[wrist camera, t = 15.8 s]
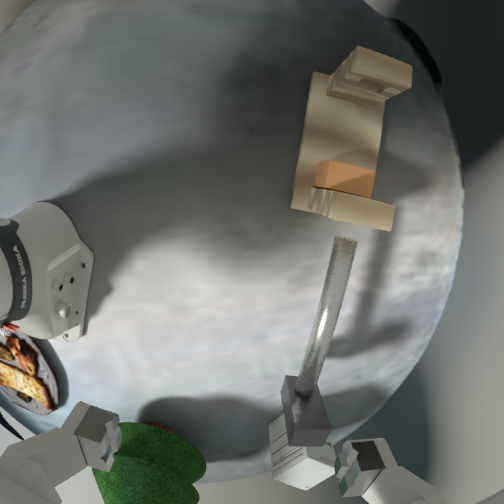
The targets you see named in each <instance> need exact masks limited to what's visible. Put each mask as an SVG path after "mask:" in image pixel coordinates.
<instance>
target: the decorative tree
mask: <svg viewBox="0 0 504 504" xmlns="http://www.w3.org/2000/svg"><path fill="white" fill-rule="evenodd" d="M118 426H119V427H120V428H121V433H122V434H121V443H120V447H119V449H118V451H117V452H115V453H113V457H114V461H113V464H112V466H111V469H110V471H109V472H105V471H102V470H99V469H96V468H93V467H92V471H93V474H94V477H95V480H96V482H97V485H98V488H99V490H100V492H101V495H102V498H103V500H104V503H105V504H197V503H198V501H199V494H198V492H197V490H196V489H195V487H194V486H193V485H192V484H193V483H194V482H196V481H198V480H199V479H200V478H202V477H203V475H204V474H205V472H206V462H205V459H204V458H203V456H202V454H201V453H200V452H199V451H198V450H197V449H196V448H195V447H194V446H193V445H192V444H190V443H189V442H187V441H186V440H184V439H183V438H181V437H179V436H177V435H176V433H175V432H174V431H173V430H172V429H171V428H169V427H168V426H166V425H163V424H160V423H156V422H148V423H145V424H141V423H133V422H123V423H118Z"/></svg>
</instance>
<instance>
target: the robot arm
mask: <svg viewBox="0 0 504 504" xmlns="http://www.w3.org/2000/svg"><path fill="white" fill-rule="evenodd" d="M93 262H94V256H93V253H92V252H91V250H90V249H89V248H88V247H87V246H86V245H85V244H84V243H83V242H82V241H81V240H80V238H79V236H78V234H77V232H76V230H75V227H74V225H73V224H72V222H71V220H70V219H69V217H68V216H67V215H66V214H65V213H64V212H63V211H62V210H61V209H60V208H59V207H57V206H55V205H53V204H51V203H48V202H37V203H34V204H32V205H30V206H28V207H27V208H26V209H25V210H23V211H22V212H20V213H18V214H16V215H15V216H12V217H10V218H8V219H7V218H1V219H0V328H1V329H2V328H6V329H8V330H11V331H15V332H16V330H15V329H17V330H19V331H20V332H22V333H24V334H27V335H29V336H32V337H35V338H39V339H56V340H61V341H73V340H76V339H79V338H80V337H81V336H82V334H83V327H84V319H85V311H86V304H87V297H88V290H89V284H90V279H91V273H92V268H93ZM83 263H84V264H85V266H86V267H84V266H83ZM67 334H68V335H67ZM119 421H120V420H119V415H118V414H116V413H113V412H110V411H107V410H104V409H101V408H98V407H95V406H92V405H89V404H86V403H84V402H81V401H80V402H78V403H77V404H76V405H75V407H74V408H73V410H72V411H71V413H70V414H69V416H68V418H67V419H66V421H65V422H64V424H63V425H62V427H61V428H60V429H59V428H54V429H52V430H49V431H47V432H44V433H42V434H39V435H36V436H34V437H31V438H28V439H26V440H23V441H21V442H18V443H15V444H12V445H9V446H8V447H7V449H6V450H5V452H4V453H3V454H2V456H1V457H0V504H61V502H62V500H61V498H60V496H59V494H58V493H57V491H56V490H55V488H54V487H56V486H57V485H59V484H61V483H62V482H64V481H65V480H67V479H69V478H70V477H72V476H74V475H75V474H77V473H78V472H80V471H81V470H83V469H85V468H86V467H87V466H90V467H93V468H96V469H99V470H102V471H105V472H109V471H110V469H111V466H112V464H113V461H114V457H113V453H115V452H117V451H118V449H119V447H120V443H121V434H122V433H121V428H120V427H119V426H118V423H119ZM342 448H343V452H341V453H339V454H338V456H337V458H336V460H335V465H334V468H335V474H336V476H337V477H338V478H339V479H341V481H340V482H339V484H338V485H339V488H340V492H341V496H342V497H351V496H360V495H362V497H363V498H364V499H365V500H366V501H367V502H369V504H448V502H447V500H446V498H445V497H444V494H443V493H442V492H441V491H440V490H438V489H436V488H435V487H433V486H431V485H430V484H428V483H426V482H425V481H423V480H422V479H420V478H419V477H417V476H415V475H414V474H412V473H411V472H409V471H408V470H406V469H405V468H403V467H401V466H400V467H398V465H397V463H396V461H395V459H394V457H393V455H392V453H391V451H390V449H389V447H388V445H387V443H386V441H385V439H383V438H380V439H379V438H378V439H365V440H352V441H347V442H345V443H344V445H343V447H342ZM476 504H504V489H502V490H501V491H499V492H497V493H495V494H493V495H491V496H490V497H488V498H486V499H484V500H482V501H480V502H478V503H476Z"/></svg>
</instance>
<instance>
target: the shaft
mask: <svg viewBox="0 0 504 504" xmlns="http://www.w3.org/2000/svg"><path fill="white" fill-rule="evenodd" d="M357 243H358V242H357V241H355V240H352V239H349V238H345V237H339V236H335V239H334V244H333V248H332V253H331V257H330V261H329V266H328V270H327V274H326V278H325V282H324V286H323V290H322V294H321V298H320V302H319V306H318V310H317V314H316V317H315V321H314V325H313V328H312V332H311V336H310V339H309V343H308V346H307V350H306V353H305V356H304V360H303V363H302V366H301V370H300V373H299V376H287V375H286V376H285V379H284V383H283V386H282V390H281V398H282V404H283V411H284V418H285V424H286V431H287V437H288V444H289V446H297V447H323V446H324V444H325V442H326V440H327V438H328V436H329V434H330V432H331V427H330V423H329V420H328V417H327V414H326V411H325V408H324V405H323V401H322V398H321V395H320V392H319V389H318V386H317V381H318V378H319V376H320V373H321V370H322V367H323V364H324V361H325V358H326V355H327V352H328V349H329V345H330V342H331V339H332V336H333V333H334V329H335V326H336V323H337V319H338V316H339V313H340V309H341V305H342V302H343V298H344V295H345V291H346V287H347V283H348V280H349V276H350V272H351V268H352V264H353V260H354V256H355V251H356V247H357Z"/></svg>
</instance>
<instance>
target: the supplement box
mask: <svg viewBox="0 0 504 504" xmlns="http://www.w3.org/2000/svg"><path fill="white" fill-rule="evenodd" d="M269 438H270V452H271V465H272V478H273V479H274V480H277V481H280V482H282V483H285V484H288V485H291V486H294V487H297V488H300V489H303V490H307V489H309V488H311V487H313V486H315V485H317V484H318V483H320V482H322V481H323V480H325V479H327V478H328V477H330V476H331V475H333V474H335V468H334V465H335V460H336V456H335V452H334V448H333V445H332V441H331V438H330V435H329V436H328V438H327V440H326V442H325V444H324V446H323V447H297V446H289V444H288V437H287V431H286V424H285V418H284V413H283V414H282V415H280V416H279V417H278V418H277V419H275V420H274V421H273V422H272V423H270V424H269Z"/></svg>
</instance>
